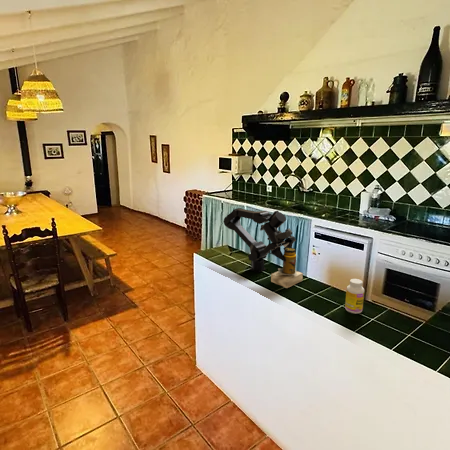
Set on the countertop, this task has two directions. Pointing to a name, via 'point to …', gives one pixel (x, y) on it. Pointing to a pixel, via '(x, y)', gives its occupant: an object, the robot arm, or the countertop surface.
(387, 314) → the countertop surface
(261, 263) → the robot arm
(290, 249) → the condiment
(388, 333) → the countertop surface
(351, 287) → the supplement bottle
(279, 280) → the wooden block
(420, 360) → the countertop surface
